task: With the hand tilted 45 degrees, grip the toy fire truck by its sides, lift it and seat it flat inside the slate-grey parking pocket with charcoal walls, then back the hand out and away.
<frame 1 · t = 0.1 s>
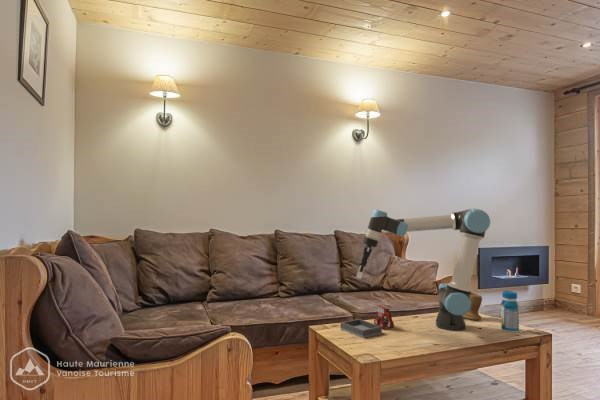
hand: (359, 275, 201), 28 cm above the table, tool tilted 20°, fingers open, 13 cm apart
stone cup: (468, 318, 222), on the table
parking pocket: (360, 331, 195), on the table
toy fire truck: (384, 327, 203), on the table
beverage bottle: (510, 330, 198), on the table
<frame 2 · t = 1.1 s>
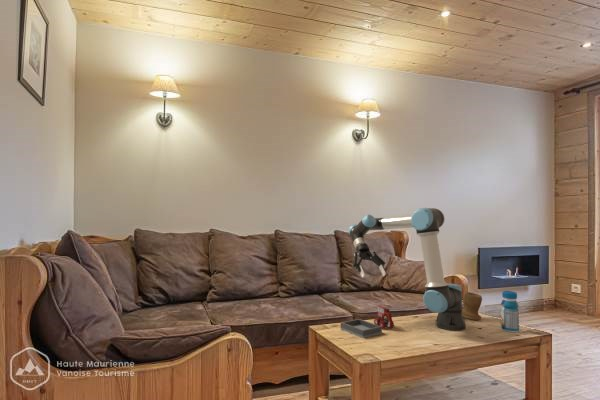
hand: (374, 275, 213), 26 cm above the table, tool tilted 45°, fingers open, 13 cm apart
nothing on the table moved.
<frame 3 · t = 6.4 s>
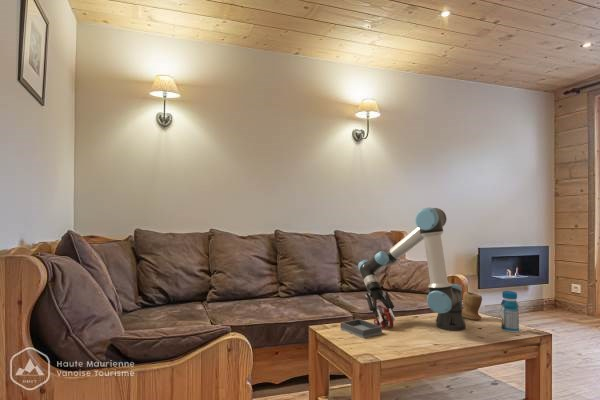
hand: (387, 321, 199), 4 cm above the table, tool tilted 45°, fingers closed on toy fire truck, 7 cm apart
toy fire truck: (383, 327, 203), on the table, touching gripper
everything else where it was.
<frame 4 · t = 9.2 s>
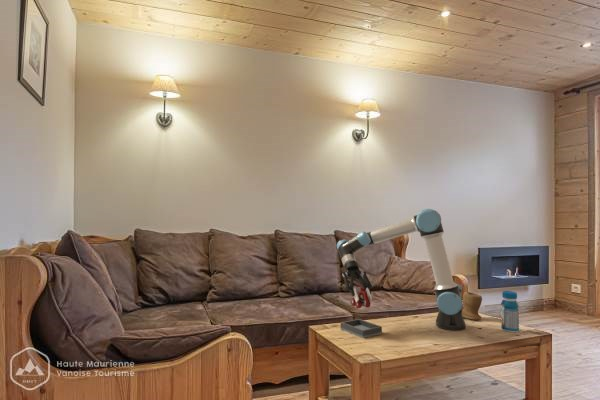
hand: (364, 300, 192), 17 cm above the table, tool tilted 45°, fingers closed on toy fire truck, 7 cm apart
toy fire truck: (360, 307, 195), point 12 cm above the table, touching gripper
everything else where it was.
when the fingers open (6 cm above the table, at t = 12.4 s): toy fire truck drops 1 cm, resting on parking pocket.
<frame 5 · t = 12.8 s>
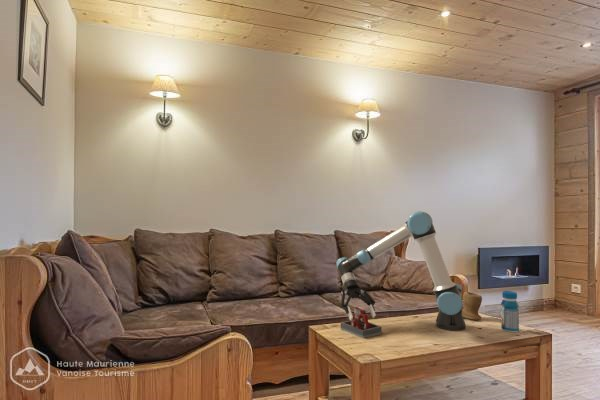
hand: (363, 317, 193), 8 cm above the table, tool tilted 45°, fingers open, 12 cm apart
toy fire truck: (360, 329, 195), point 1 cm above the table, touching parking pocket
everything else where it was.
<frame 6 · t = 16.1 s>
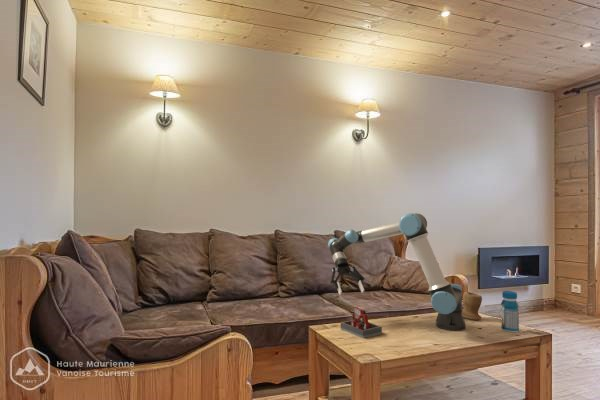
hand: (351, 292, 206), 18 cm above the table, tool tilted 45°, fingers open, 13 cm apart
nothing on the table moved.
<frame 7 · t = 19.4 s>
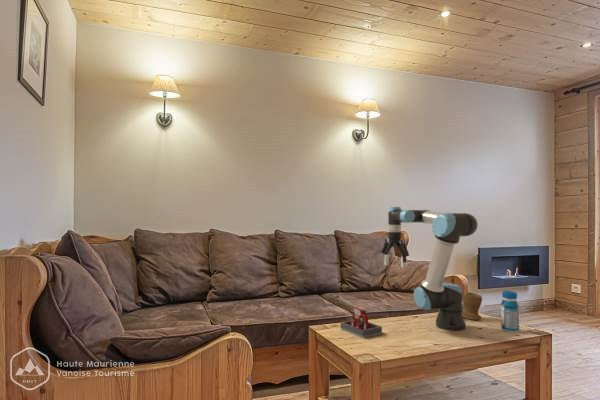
hand: (394, 266, 231), 29 cm above the table, tool pointing down, fingers open, 13 cm apart
nothing on the table moved.
at the end: toy fire truck 0.1 cm off-centre on the parking pocket, point 0.8 cm above the parking pocket's base; toy fire truck tilted 0°; the gripper is holding nothing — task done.
